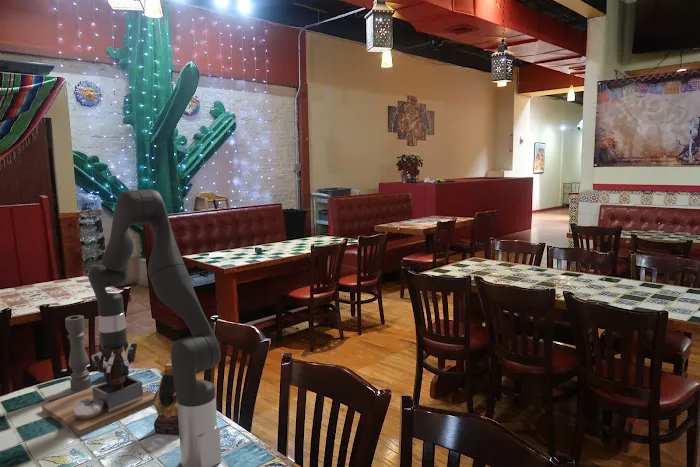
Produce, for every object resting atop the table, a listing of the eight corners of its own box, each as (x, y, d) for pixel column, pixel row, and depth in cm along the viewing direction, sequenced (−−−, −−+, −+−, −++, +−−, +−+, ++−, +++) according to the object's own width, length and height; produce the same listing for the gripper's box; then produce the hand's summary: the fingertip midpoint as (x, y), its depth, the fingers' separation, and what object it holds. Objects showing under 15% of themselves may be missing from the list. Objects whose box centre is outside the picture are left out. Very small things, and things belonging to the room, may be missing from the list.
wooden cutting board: (160, 401, 156) (160, 395, 156) (80, 436, 136) (80, 429, 136) (119, 381, 171) (119, 376, 171) (42, 411, 151) (41, 405, 151)
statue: (149, 434, 137) (144, 367, 134) (166, 420, 145) (161, 356, 142) (187, 438, 134) (182, 370, 132) (203, 424, 142) (198, 358, 139)
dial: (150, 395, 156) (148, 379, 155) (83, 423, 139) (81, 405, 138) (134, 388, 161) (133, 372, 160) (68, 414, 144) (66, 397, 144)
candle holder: (67, 389, 166) (60, 319, 162) (84, 382, 171) (77, 314, 168) (78, 393, 163) (71, 321, 159) (95, 385, 168) (88, 316, 165)
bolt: (118, 397, 148) (115, 351, 146) (104, 396, 149) (100, 350, 147) (131, 389, 154) (127, 344, 152) (117, 388, 155) (113, 343, 153)
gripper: (95, 336, 141) (100, 391, 143) (141, 323, 152) (144, 374, 154) (82, 331, 145) (87, 385, 147) (128, 319, 157) (132, 369, 159)
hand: (117, 379), depth 151 cm, fingers closed on bolt, 4 cm apart
